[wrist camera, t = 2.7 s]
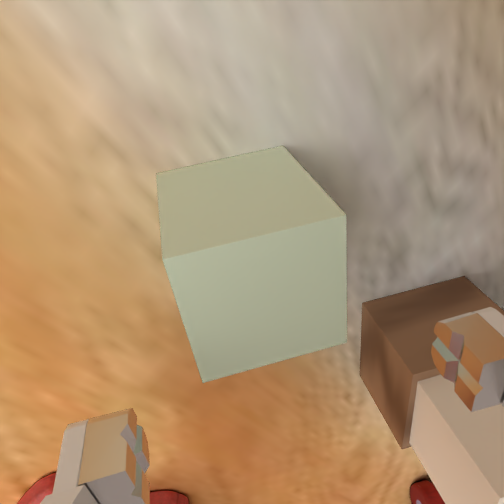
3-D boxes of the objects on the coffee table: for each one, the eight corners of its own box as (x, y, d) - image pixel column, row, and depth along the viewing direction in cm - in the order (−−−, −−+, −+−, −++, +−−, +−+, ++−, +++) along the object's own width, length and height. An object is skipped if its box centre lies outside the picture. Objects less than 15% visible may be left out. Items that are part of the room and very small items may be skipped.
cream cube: (417, 381, 18) (499, 498, 14) (519, 350, 18) (627, 454, 14) (409, 442, 21) (475, 554, 17) (497, 414, 21) (582, 516, 17)
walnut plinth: (361, 301, 21) (413, 374, 17) (463, 275, 22) (535, 339, 18) (359, 374, 25) (401, 449, 21) (447, 348, 26) (505, 417, 21)
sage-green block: (156, 172, 15) (162, 259, 10) (282, 145, 16) (346, 214, 11) (186, 276, 18) (202, 383, 13) (292, 249, 19) (346, 342, 14)
